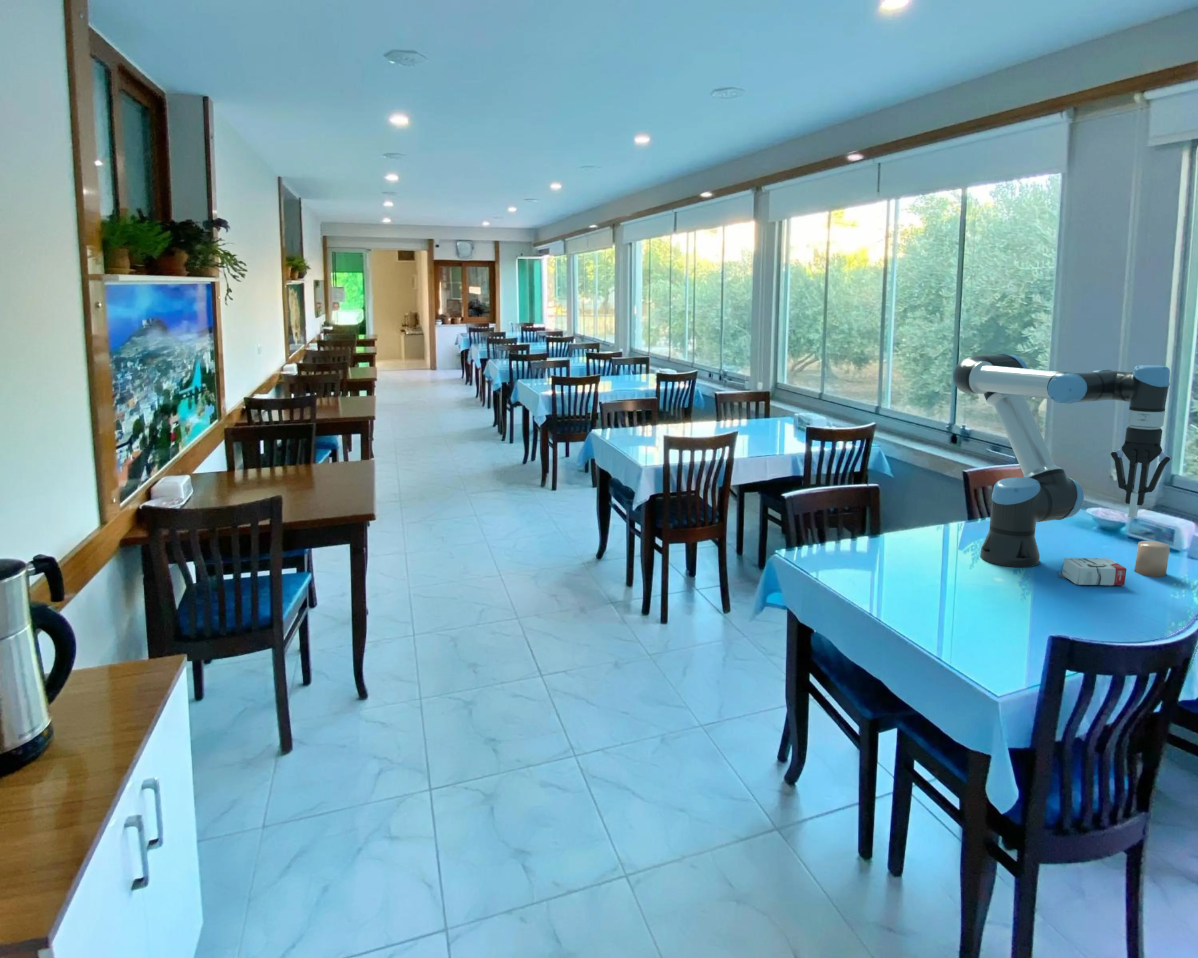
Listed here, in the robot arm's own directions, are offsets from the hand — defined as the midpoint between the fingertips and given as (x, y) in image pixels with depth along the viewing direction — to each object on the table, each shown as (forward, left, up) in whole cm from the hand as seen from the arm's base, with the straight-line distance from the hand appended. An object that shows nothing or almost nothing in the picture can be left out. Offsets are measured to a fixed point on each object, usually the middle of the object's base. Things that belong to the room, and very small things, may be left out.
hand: (1132, 516), depth 200 cm
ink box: (-1, -1, -15) cm, 15 cm away
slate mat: (-8, 0, -18) cm, 19 cm away
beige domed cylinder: (+4, +12, -18) cm, 22 cm away
